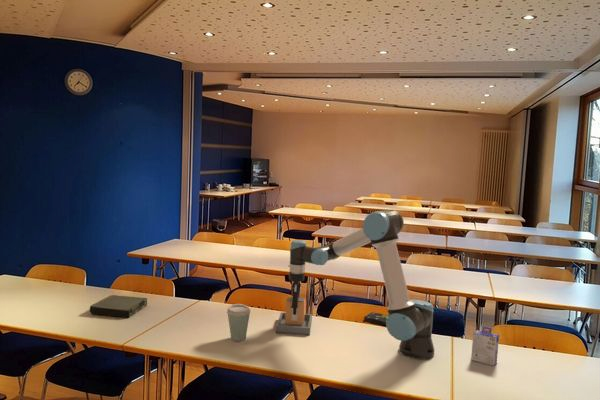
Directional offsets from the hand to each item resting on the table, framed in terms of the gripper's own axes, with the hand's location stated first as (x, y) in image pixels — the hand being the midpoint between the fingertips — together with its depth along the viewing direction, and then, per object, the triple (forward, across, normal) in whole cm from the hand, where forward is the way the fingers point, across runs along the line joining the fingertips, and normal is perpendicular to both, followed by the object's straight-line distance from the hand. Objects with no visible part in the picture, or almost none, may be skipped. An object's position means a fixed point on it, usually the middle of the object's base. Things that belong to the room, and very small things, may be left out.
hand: (294, 318), depth 238 cm
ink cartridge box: (+5, +25, +84) cm, 88 cm away
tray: (+4, 0, 0) cm, 4 cm away
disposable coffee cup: (+5, +21, -24) cm, 32 cm away
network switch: (+5, -6, -92) cm, 92 cm away
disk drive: (+5, -17, +44) cm, 47 cm away
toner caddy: (+2, 0, 0) cm, 2 cm away
